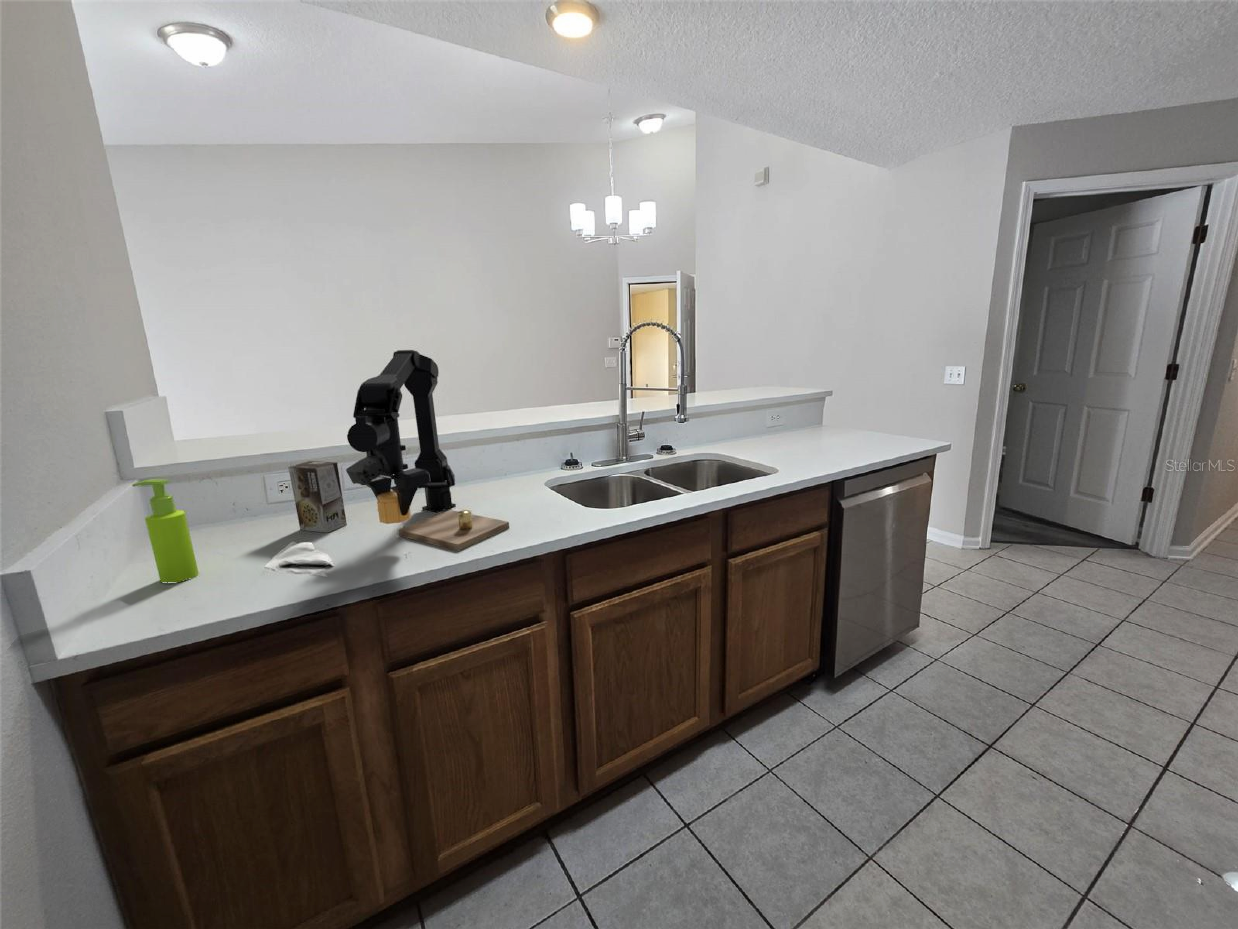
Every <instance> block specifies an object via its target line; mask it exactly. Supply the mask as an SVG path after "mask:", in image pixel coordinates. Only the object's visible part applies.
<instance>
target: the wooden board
mask: <svg viewBox="0 0 1238 929" xmlns="http://www.w3.org/2000/svg"><path fill="white" fill-rule="evenodd" d="M458 512H459V510H453V509H449V510H447V511H444V512H441V513H439V514H436V515H432V516H431V517H427V518H425V519H422V520H420V521H417V522H415V523H412V524H409V525H406V526H403V527H399V528H398V529H397V534H398V536H399V537H403V538H407V537H408V538H407V539H411V540H415V541H418V542H422V543H427V544H430V545H434V544H435V545H434V546H438V545H439V546H438V547H441V548H442V547H443V548H446V549H449V548H450V550H454V551H457V552H459V551H461V550H464V549H466V548H469V547H470V545H471V546H472V544H473V545H475V544H478V543H479V542H481V541H483V540H486V539H487V537H488V538H489V537H490V538H491V537H492V536H494V534H495V535H497V534H499V533H501V532H504V531H505V530H507V528H508V529H510V521H506V520H501V519H496V518H493V517H492V518H491V517H488V516H482V515H477V514H474V513H473V514H472V513H471V515H472V525H473V528H472V529H470V530H466V531H462V530H460V529H459V520H458ZM500 531H501V532H500Z"/></svg>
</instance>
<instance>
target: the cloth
mask: <svg viewBox="0 0 1238 929" xmlns="http://www.w3.org/2000/svg"><path fill="white" fill-rule="evenodd" d="M330 558H331V557H330V555H329V554H328V553H325V552H322V551H320V550H318V549H315V546H314V544H313V543H312V541H311V542H304V541H303V542H302V541H301V542H299V543H296V541H291V542H290V543H288V544H287V545H286V547H284V548H282V549H281V550H280V551H279V552H278V553H277V554H276V555H274V556H273V557H272V558H271V560H270V561H269V562H267V563H266V564H265V565H266V566H265V565H264V569H270V568H271V569H270V570H271V571H276V572H285V573H290V572H291V573H293V574H302V575H310V576H322V577H328V575H326V574H325V571H326V569H325V567H324V566H328V565H330V566H332V567H335V565H334V564H333V561H332V559H330ZM331 561H332V562H331ZM293 565H294V566H293ZM300 565H301V566H300ZM321 565H323V566H322V567H321ZM307 566H308V567H307ZM309 566H318V567H309ZM319 566H320V567H319ZM291 573H290V574H291Z"/></svg>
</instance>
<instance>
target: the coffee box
mask: <svg viewBox="0 0 1238 929" xmlns="http://www.w3.org/2000/svg"><path fill="white" fill-rule="evenodd" d="M338 466H339V465H338V462H336V461H335V462H334V461H314V460H313V461H312V460H309V461H305V462H301V463H298V464H296V465H292V466H288V471H289V478H290V483H291V488H292V493H293V498H294V502H295V503H294V504H295V508H296V509H295V510H296V514H297V520H298V524H299V529H300V531H309V532H319V533H329V532H332V531H334V530H337V529H340V528H342V527H345V526H347V524H348V523H347V519H346V511H345V504H344V498H343V492H342V485H341V484H342V483H341V480H340V478H341V477H340V472H339V467H338Z"/></svg>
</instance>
